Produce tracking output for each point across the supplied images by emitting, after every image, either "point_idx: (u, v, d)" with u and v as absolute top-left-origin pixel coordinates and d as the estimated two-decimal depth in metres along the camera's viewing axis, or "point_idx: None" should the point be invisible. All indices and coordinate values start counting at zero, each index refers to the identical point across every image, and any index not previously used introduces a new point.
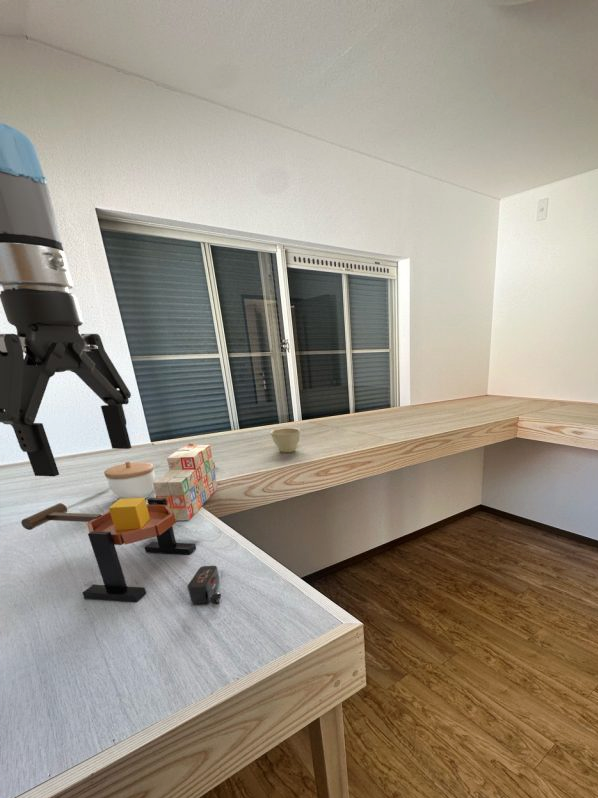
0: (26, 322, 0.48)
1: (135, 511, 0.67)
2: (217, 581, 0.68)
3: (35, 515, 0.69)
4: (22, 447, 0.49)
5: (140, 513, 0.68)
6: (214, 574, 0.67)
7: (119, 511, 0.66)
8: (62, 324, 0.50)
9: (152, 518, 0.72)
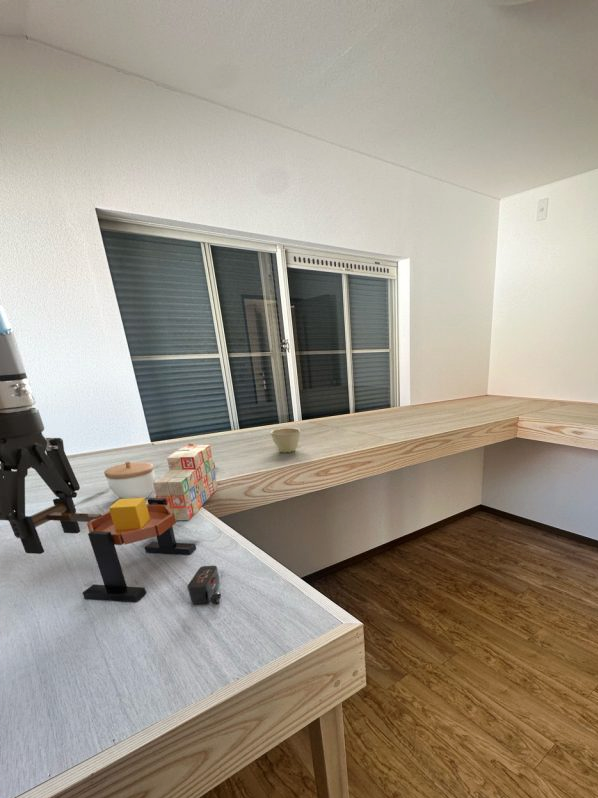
0: None
1: (135, 511, 0.67)
2: (217, 581, 0.68)
3: (34, 515, 0.69)
4: (16, 535, 0.66)
5: (140, 513, 0.68)
6: (214, 574, 0.67)
7: (119, 511, 0.66)
8: (26, 435, 0.64)
9: (152, 518, 0.72)
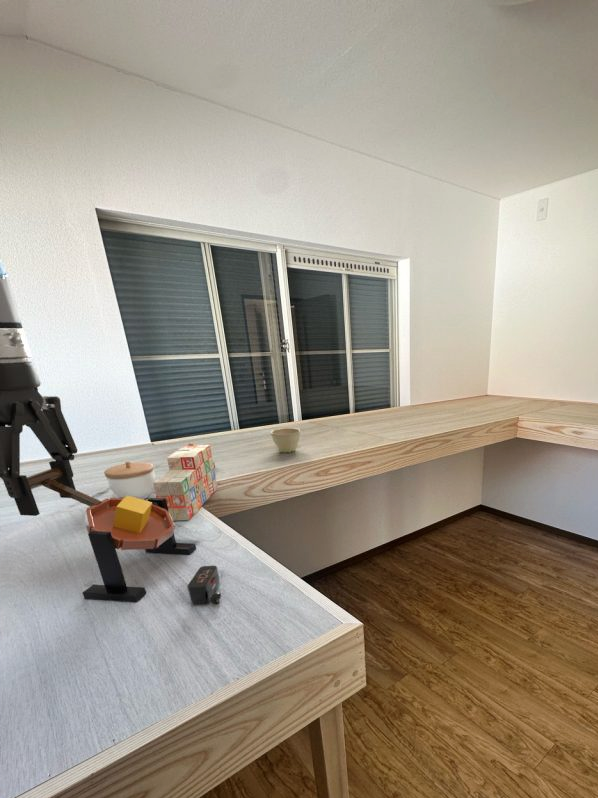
0: None
1: (141, 518, 0.67)
2: (217, 581, 0.68)
3: (31, 479, 0.66)
4: (10, 494, 0.63)
5: (144, 519, 0.68)
6: (214, 574, 0.67)
7: (125, 512, 0.66)
8: (21, 389, 0.61)
9: (150, 522, 0.72)
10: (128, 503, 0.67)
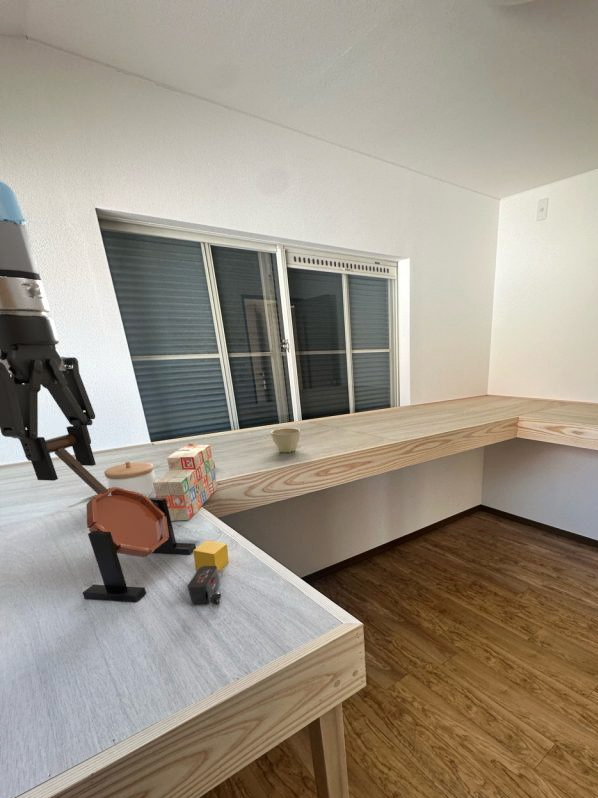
0: (7, 343, 0.56)
1: (197, 552, 0.71)
2: (217, 581, 0.68)
3: (47, 446, 0.63)
4: (27, 457, 0.60)
5: (206, 549, 0.72)
6: (214, 574, 0.67)
7: (198, 563, 0.72)
8: (39, 344, 0.58)
9: (146, 524, 0.72)
10: None
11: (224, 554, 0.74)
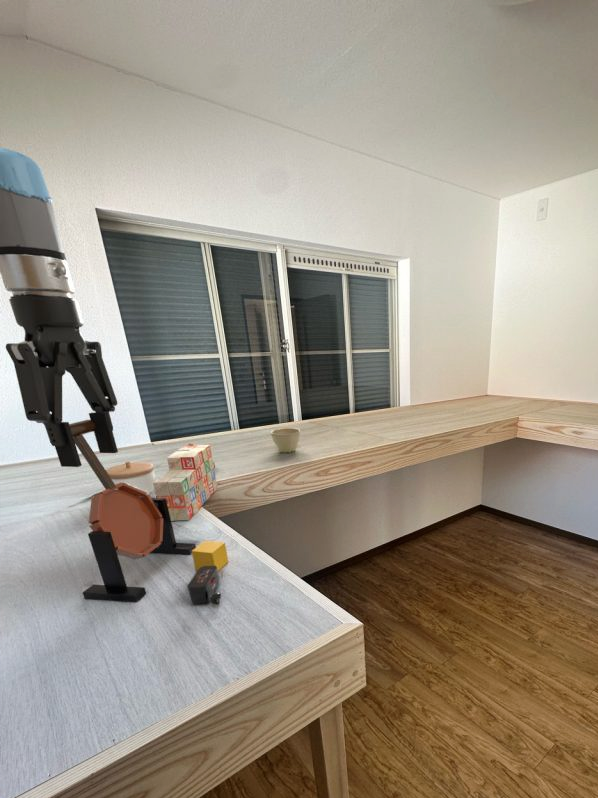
0: (33, 324, 0.54)
1: (196, 552, 0.71)
2: (217, 581, 0.68)
3: None
4: (52, 442, 0.59)
5: (204, 549, 0.72)
6: (214, 574, 0.67)
7: (197, 564, 0.72)
8: (65, 325, 0.56)
9: (143, 524, 0.72)
10: None
11: (223, 553, 0.74)
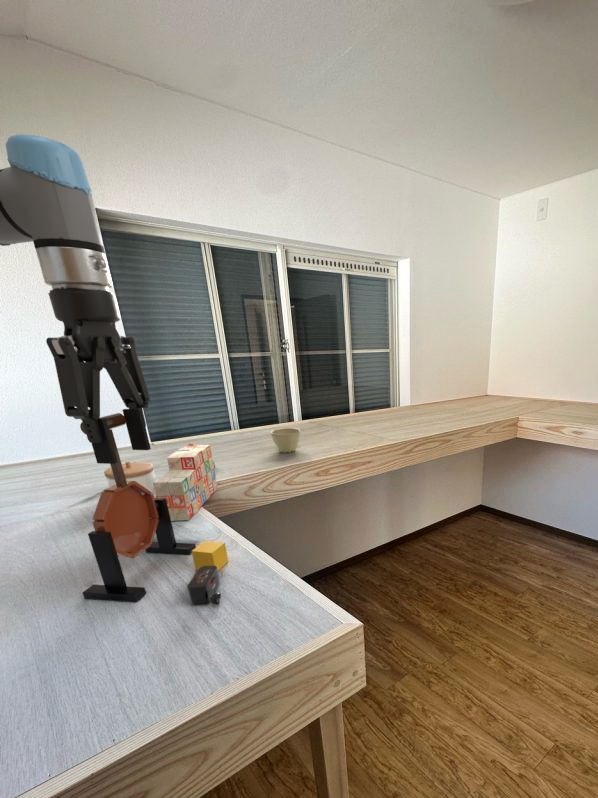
0: (73, 318, 0.54)
1: (196, 552, 0.71)
2: (217, 581, 0.68)
3: None
4: (89, 438, 0.58)
5: (204, 549, 0.72)
6: (214, 574, 0.67)
7: (197, 564, 0.72)
8: (104, 320, 0.56)
9: (139, 523, 0.72)
10: None
11: (223, 553, 0.74)
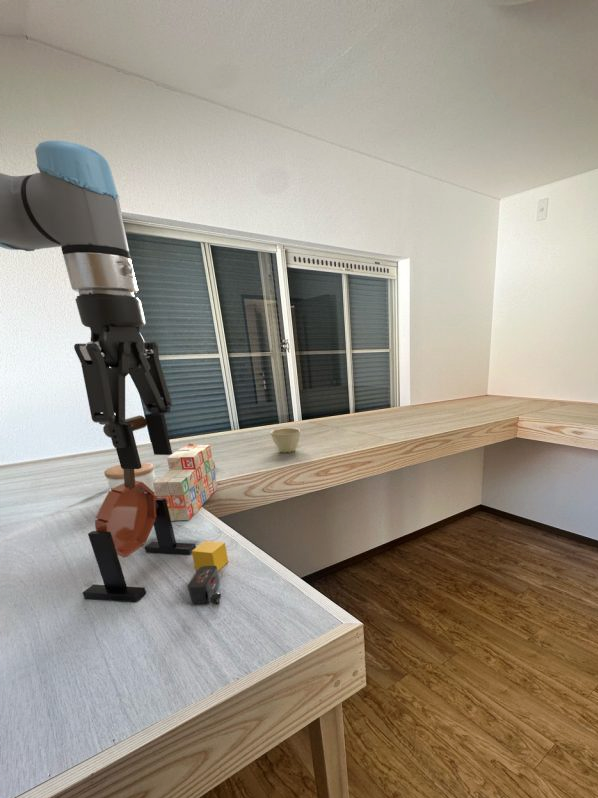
0: (100, 324, 0.53)
1: (196, 552, 0.71)
2: (217, 581, 0.68)
3: None
4: (114, 444, 0.58)
5: (204, 549, 0.72)
6: (214, 574, 0.67)
7: (197, 564, 0.72)
8: (130, 325, 0.55)
9: (137, 521, 0.72)
10: None
11: (223, 553, 0.74)
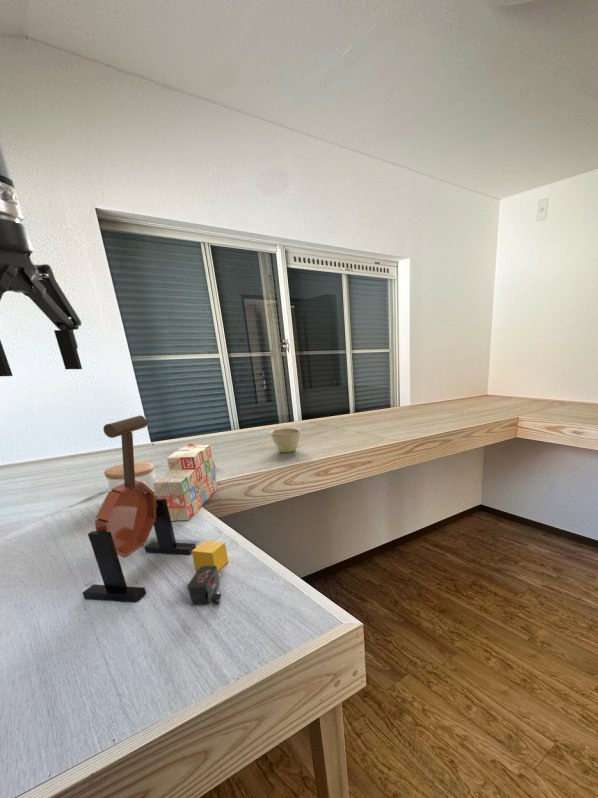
0: None
1: (196, 552, 0.71)
2: (217, 581, 0.68)
3: (123, 432, 0.61)
4: None
5: (204, 549, 0.72)
6: (214, 574, 0.67)
7: (197, 564, 0.72)
8: (13, 248, 0.61)
9: (137, 521, 0.72)
10: None
11: (223, 553, 0.74)
